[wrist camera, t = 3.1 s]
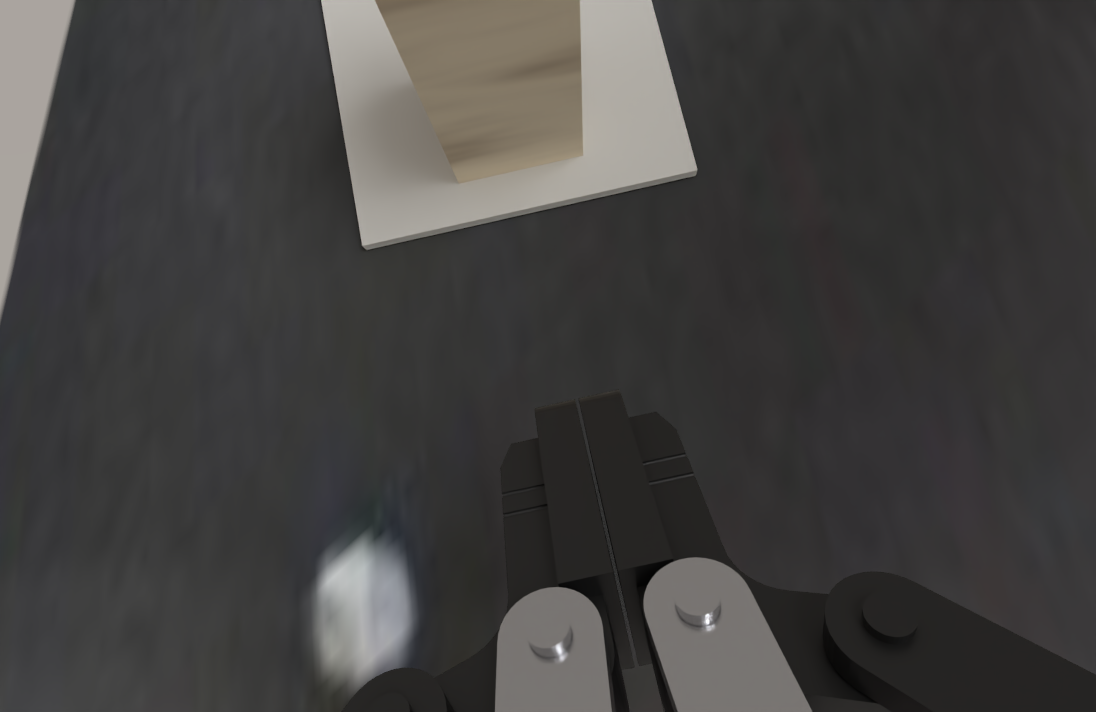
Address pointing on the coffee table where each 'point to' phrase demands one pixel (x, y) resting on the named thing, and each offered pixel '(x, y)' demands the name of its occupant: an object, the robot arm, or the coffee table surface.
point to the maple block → (494, 78)
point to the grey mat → (445, 205)
